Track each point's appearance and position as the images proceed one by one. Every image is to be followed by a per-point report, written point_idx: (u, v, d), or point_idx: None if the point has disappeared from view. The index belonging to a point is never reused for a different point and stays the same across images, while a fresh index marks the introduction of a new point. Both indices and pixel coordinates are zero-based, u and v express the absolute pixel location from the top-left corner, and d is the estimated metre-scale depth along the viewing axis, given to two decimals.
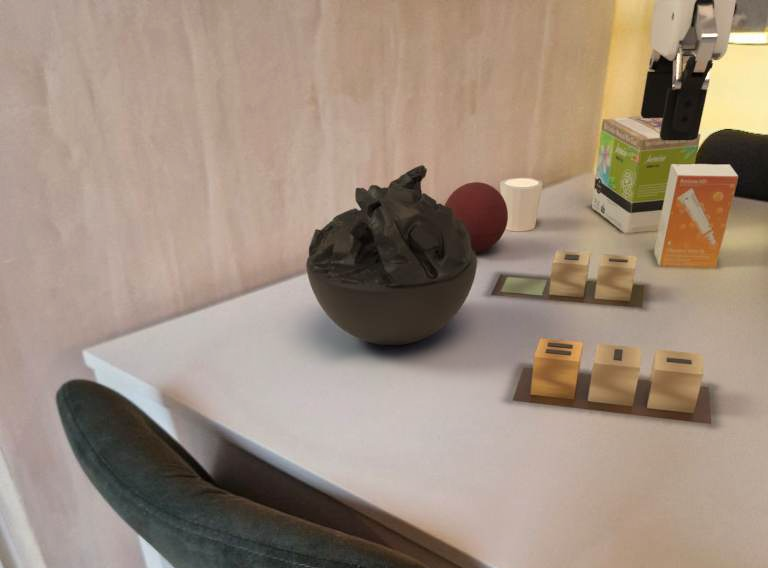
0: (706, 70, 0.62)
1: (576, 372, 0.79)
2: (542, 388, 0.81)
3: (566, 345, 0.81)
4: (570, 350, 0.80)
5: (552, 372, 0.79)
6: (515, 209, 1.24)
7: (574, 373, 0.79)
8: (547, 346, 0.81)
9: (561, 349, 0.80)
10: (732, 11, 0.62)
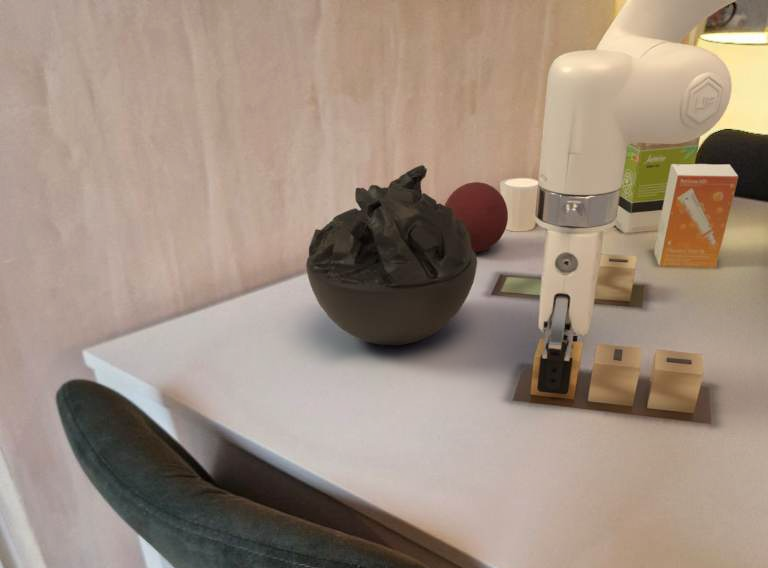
0: (561, 353, 0.75)
1: (576, 372, 0.79)
2: None
3: None
4: None
5: None
6: (515, 209, 1.24)
7: (574, 373, 0.79)
8: None
9: None
10: (587, 304, 0.72)
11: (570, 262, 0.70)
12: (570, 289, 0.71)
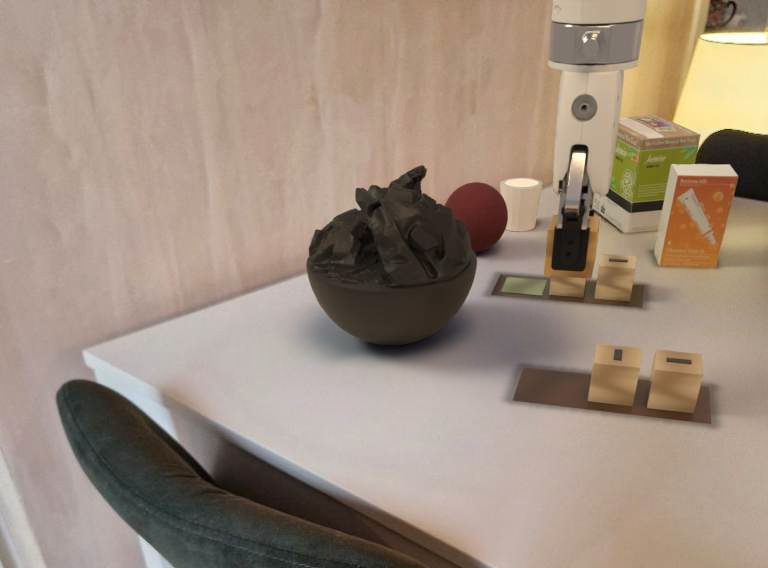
0: (578, 217, 0.68)
1: (594, 245, 0.72)
2: None
3: None
4: None
5: None
6: (515, 209, 1.24)
7: (592, 247, 0.72)
8: None
9: None
10: (607, 157, 0.65)
11: (588, 107, 0.63)
12: (588, 138, 0.64)
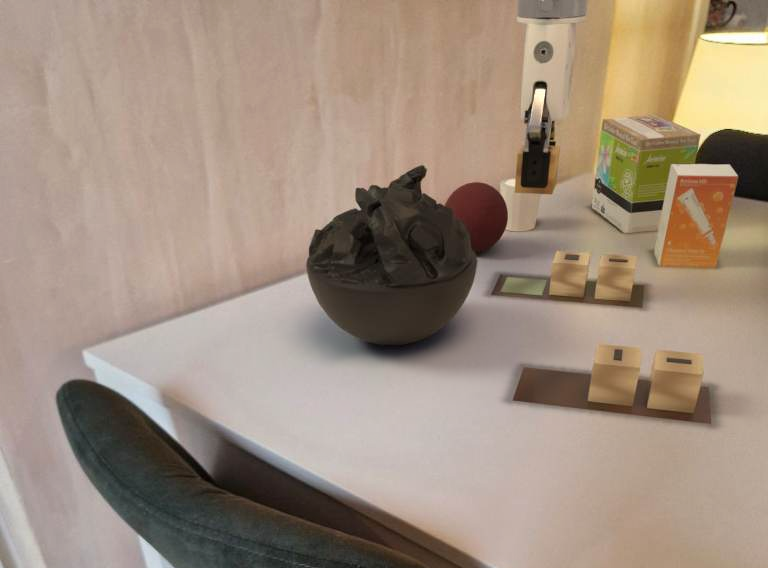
0: (540, 140, 0.87)
1: (553, 166, 0.91)
2: None
3: None
4: None
5: None
6: (515, 209, 1.24)
7: (552, 167, 0.91)
8: None
9: None
10: (561, 91, 0.84)
11: (547, 51, 0.82)
12: (547, 76, 0.83)
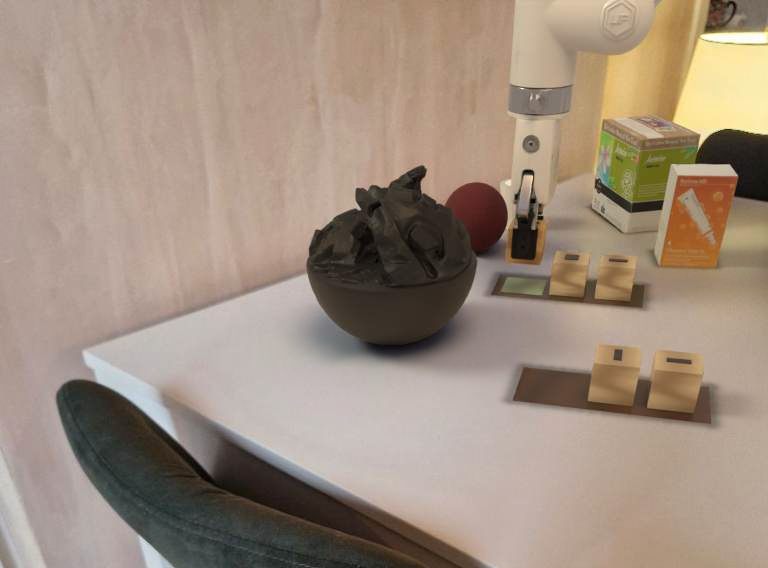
0: (528, 220, 0.95)
1: (541, 241, 0.99)
2: None
3: None
4: (536, 225, 1.00)
5: None
6: (515, 209, 1.24)
7: (539, 242, 0.99)
8: None
9: None
10: (547, 178, 0.92)
11: (534, 143, 0.91)
12: (534, 165, 0.92)
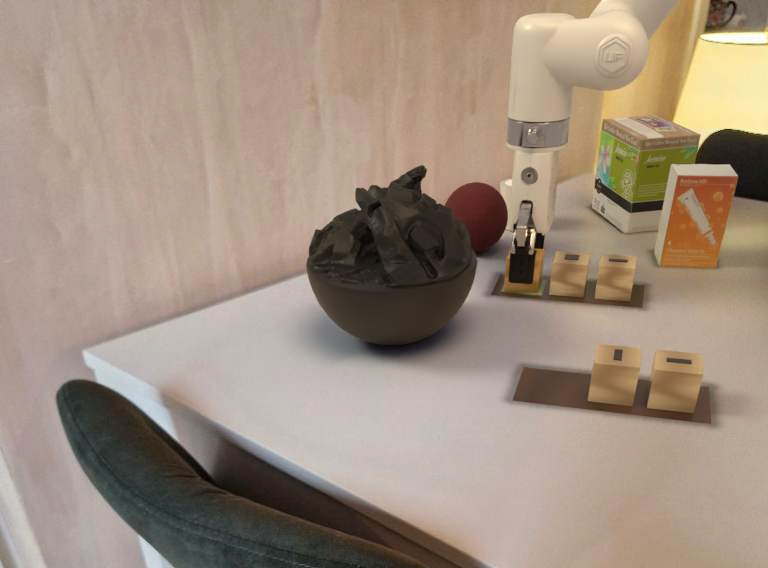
0: (525, 246, 0.95)
1: (538, 270, 1.02)
2: (513, 284, 1.04)
3: None
4: None
5: None
6: None
7: (537, 271, 1.02)
8: None
9: None
10: (545, 209, 0.94)
11: (532, 175, 0.93)
12: (532, 196, 0.94)
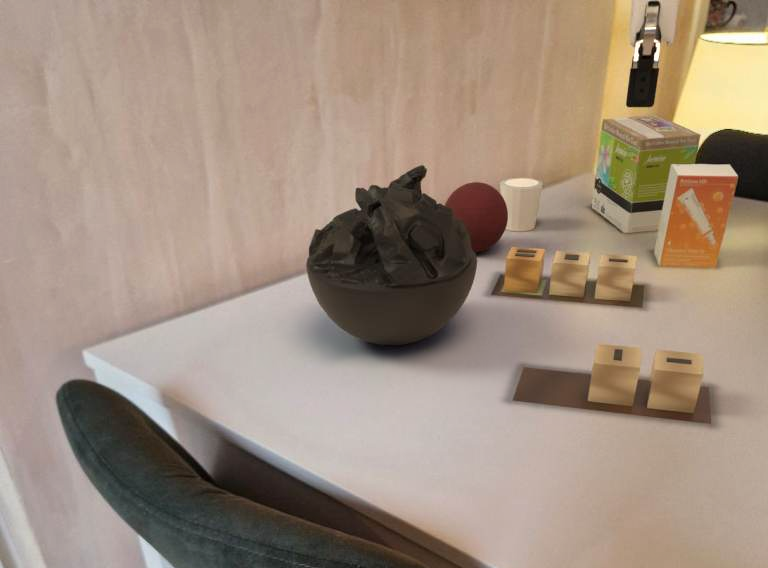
0: (652, 54, 0.85)
1: (538, 270, 1.02)
2: (513, 284, 1.04)
3: (531, 250, 1.03)
4: (534, 254, 1.03)
5: (520, 270, 1.02)
6: (515, 209, 1.24)
7: (537, 271, 1.02)
8: (517, 251, 1.04)
9: (527, 253, 1.03)
10: (674, 10, 0.84)
11: None
12: None
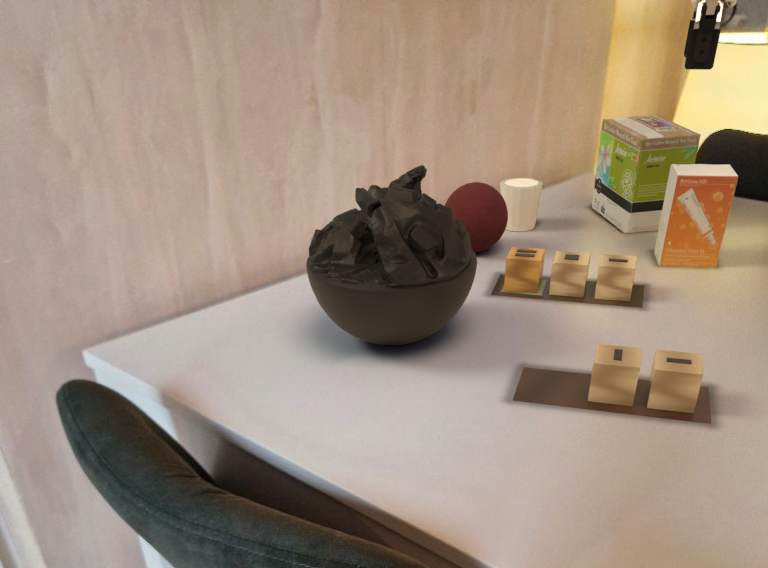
0: (715, 13, 0.85)
1: (538, 270, 1.02)
2: (513, 284, 1.04)
3: (531, 250, 1.03)
4: (534, 254, 1.03)
5: (520, 270, 1.02)
6: (515, 209, 1.24)
7: (537, 271, 1.02)
8: (517, 251, 1.04)
9: (527, 253, 1.03)
10: None
11: None
12: None
